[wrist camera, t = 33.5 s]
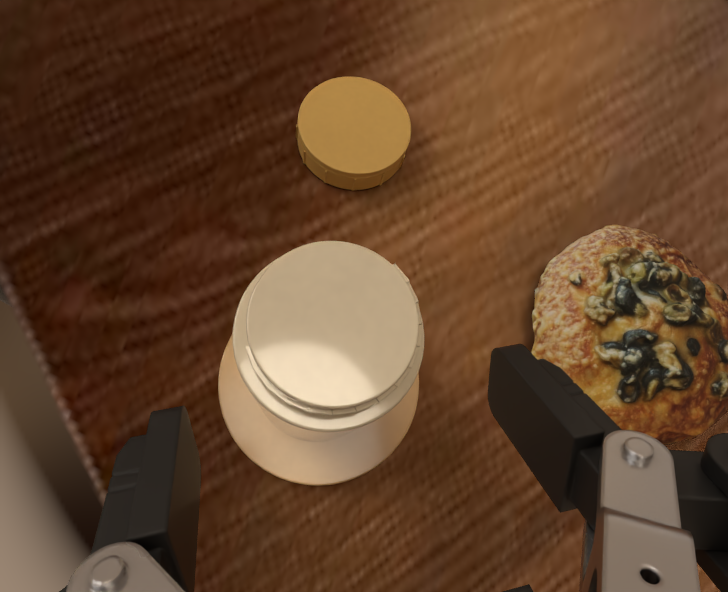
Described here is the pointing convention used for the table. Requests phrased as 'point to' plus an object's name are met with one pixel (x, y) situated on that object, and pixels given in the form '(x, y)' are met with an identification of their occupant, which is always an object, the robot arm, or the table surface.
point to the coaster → (302, 457)
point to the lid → (353, 132)
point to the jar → (328, 339)
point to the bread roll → (636, 332)
